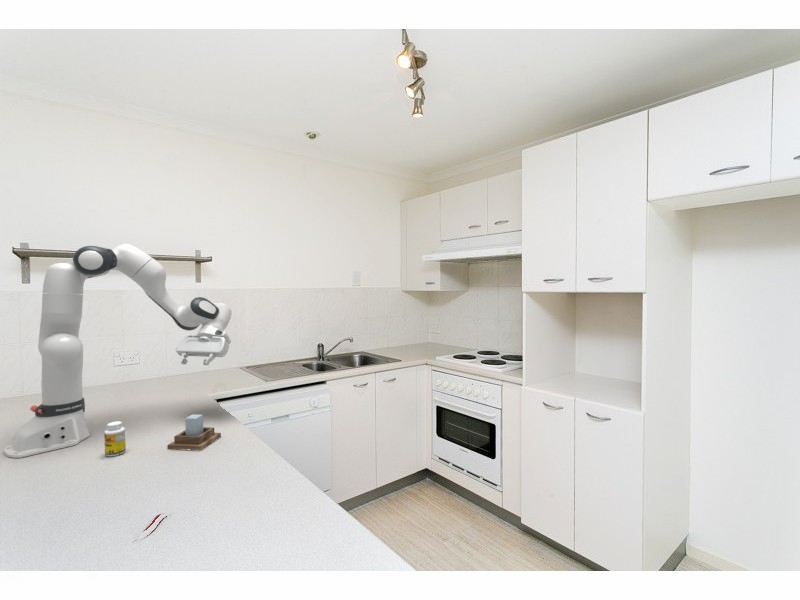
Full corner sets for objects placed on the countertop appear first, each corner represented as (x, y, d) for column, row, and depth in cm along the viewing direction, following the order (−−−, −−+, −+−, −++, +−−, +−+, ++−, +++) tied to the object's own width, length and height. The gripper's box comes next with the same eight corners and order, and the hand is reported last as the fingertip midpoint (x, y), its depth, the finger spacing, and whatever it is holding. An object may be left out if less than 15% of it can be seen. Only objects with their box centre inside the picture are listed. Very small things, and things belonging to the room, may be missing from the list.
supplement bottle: (101, 455, 129) (100, 424, 128) (120, 448, 134) (119, 419, 133) (110, 458, 126) (109, 427, 125) (129, 452, 131) (128, 422, 130)
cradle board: (200, 451, 131) (200, 439, 131) (167, 449, 133) (167, 437, 132) (220, 437, 143) (220, 426, 143) (190, 435, 145) (189, 425, 144)
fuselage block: (196, 441, 136) (195, 418, 135) (185, 440, 136) (185, 418, 136) (203, 436, 140) (202, 414, 139) (193, 436, 140) (192, 414, 140)
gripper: (182, 330, 162) (165, 358, 152) (228, 332, 159) (214, 360, 150) (189, 340, 166) (173, 367, 157) (234, 341, 164) (221, 369, 155)
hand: (194, 364), depth 153 cm, fingers open, 8 cm apart
